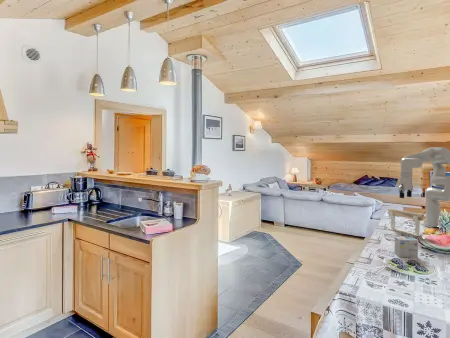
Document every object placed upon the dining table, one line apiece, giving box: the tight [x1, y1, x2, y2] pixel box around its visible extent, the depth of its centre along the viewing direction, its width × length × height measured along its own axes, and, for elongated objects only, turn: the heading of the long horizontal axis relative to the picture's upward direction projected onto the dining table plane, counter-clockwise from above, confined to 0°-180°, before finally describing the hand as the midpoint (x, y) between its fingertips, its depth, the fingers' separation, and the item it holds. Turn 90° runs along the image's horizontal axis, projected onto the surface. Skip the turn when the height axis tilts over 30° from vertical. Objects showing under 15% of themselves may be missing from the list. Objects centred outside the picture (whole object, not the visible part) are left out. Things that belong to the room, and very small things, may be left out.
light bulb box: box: [394, 236, 419, 259], centre depth 175 cm, size 11×7×11 cm, turn 84°
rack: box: [387, 212, 423, 237], centre depth 222 cm, size 7×23×14 cm, turn 30°
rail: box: [387, 208, 425, 222], centre depth 221 cm, size 4×24×4 cm, turn 30°
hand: (405, 197), depth 220 cm, fingers open, 9 cm apart
